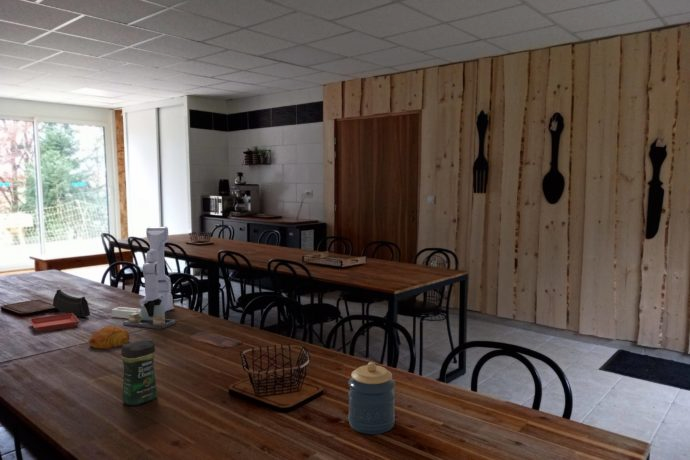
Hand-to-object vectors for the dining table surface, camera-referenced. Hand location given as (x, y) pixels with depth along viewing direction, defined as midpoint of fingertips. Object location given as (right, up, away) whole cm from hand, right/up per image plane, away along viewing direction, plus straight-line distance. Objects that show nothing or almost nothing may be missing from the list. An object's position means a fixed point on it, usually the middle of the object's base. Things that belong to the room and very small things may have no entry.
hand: (152, 315), depth 235 cm
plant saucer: (-44, -5, -4) cm, 45 cm away
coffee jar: (+28, -12, -82) cm, 87 cm away
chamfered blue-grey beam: (0, -3, 0) cm, 3 cm away
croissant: (-7, -7, -29) cm, 31 cm away
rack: (-1, -4, -2) cm, 4 cm away
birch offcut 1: (+5, -2, -6) cm, 8 cm away
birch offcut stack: (-8, -4, -2) cm, 9 cm away
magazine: (-48, -2, +17) cm, 51 cm away
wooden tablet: (+36, -7, -25) cm, 44 cm away
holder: (-16, -2, +11) cm, 20 cm away
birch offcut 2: (+5, -4, -6) cm, 9 cm away
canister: (+99, -13, -97) cm, 139 cm away
